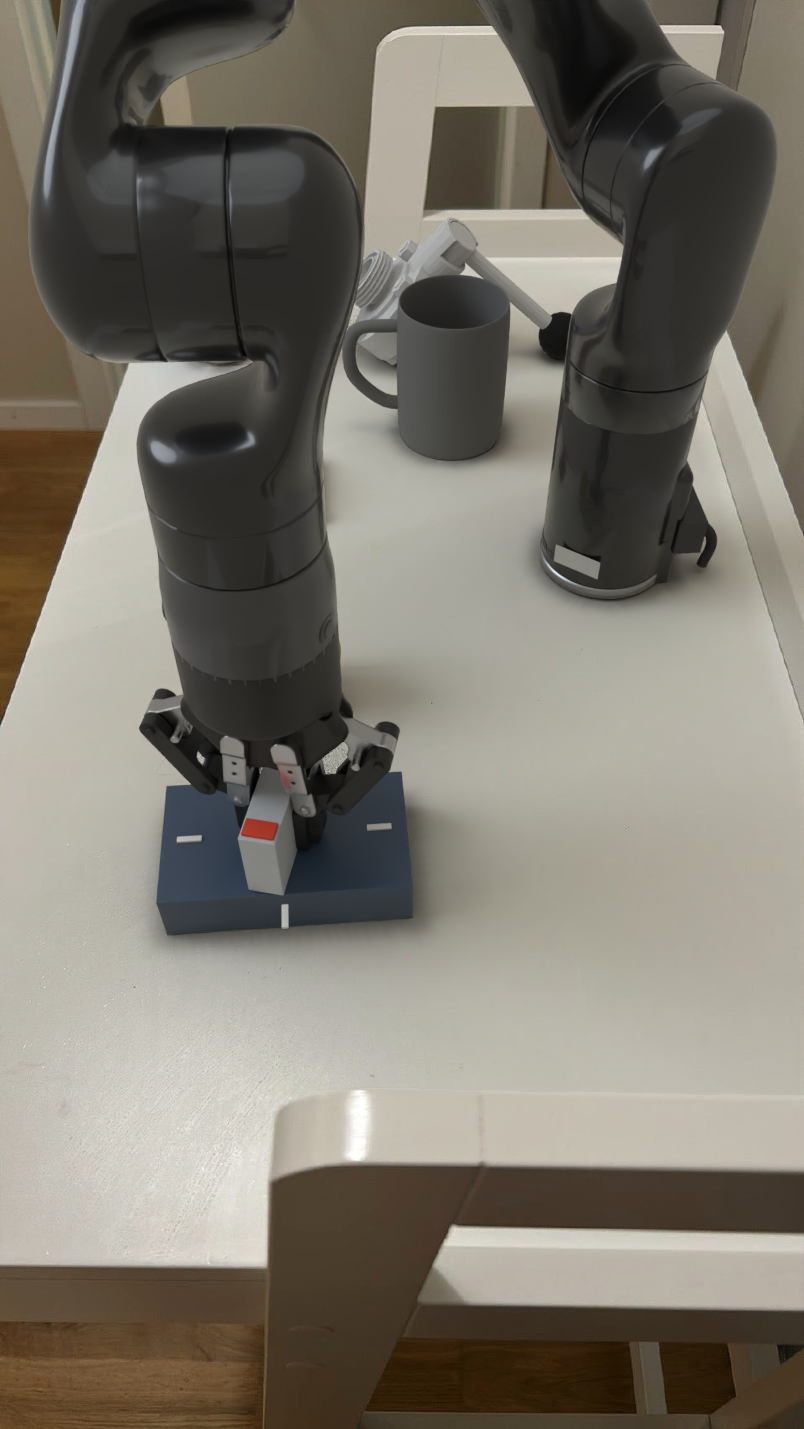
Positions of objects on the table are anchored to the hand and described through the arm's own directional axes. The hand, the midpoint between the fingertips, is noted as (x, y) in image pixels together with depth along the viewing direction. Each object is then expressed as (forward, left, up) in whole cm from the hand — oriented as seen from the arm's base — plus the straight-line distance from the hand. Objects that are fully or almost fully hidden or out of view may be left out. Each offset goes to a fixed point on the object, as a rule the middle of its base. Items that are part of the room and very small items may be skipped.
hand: (283, 832), depth 60 cm
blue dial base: (0, 0, -4) cm, 4 cm away
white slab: (0, 0, 0) cm, 0 cm away
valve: (-17, -57, -4) cm, 60 cm away
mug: (-12, -44, -4) cm, 46 cm away
